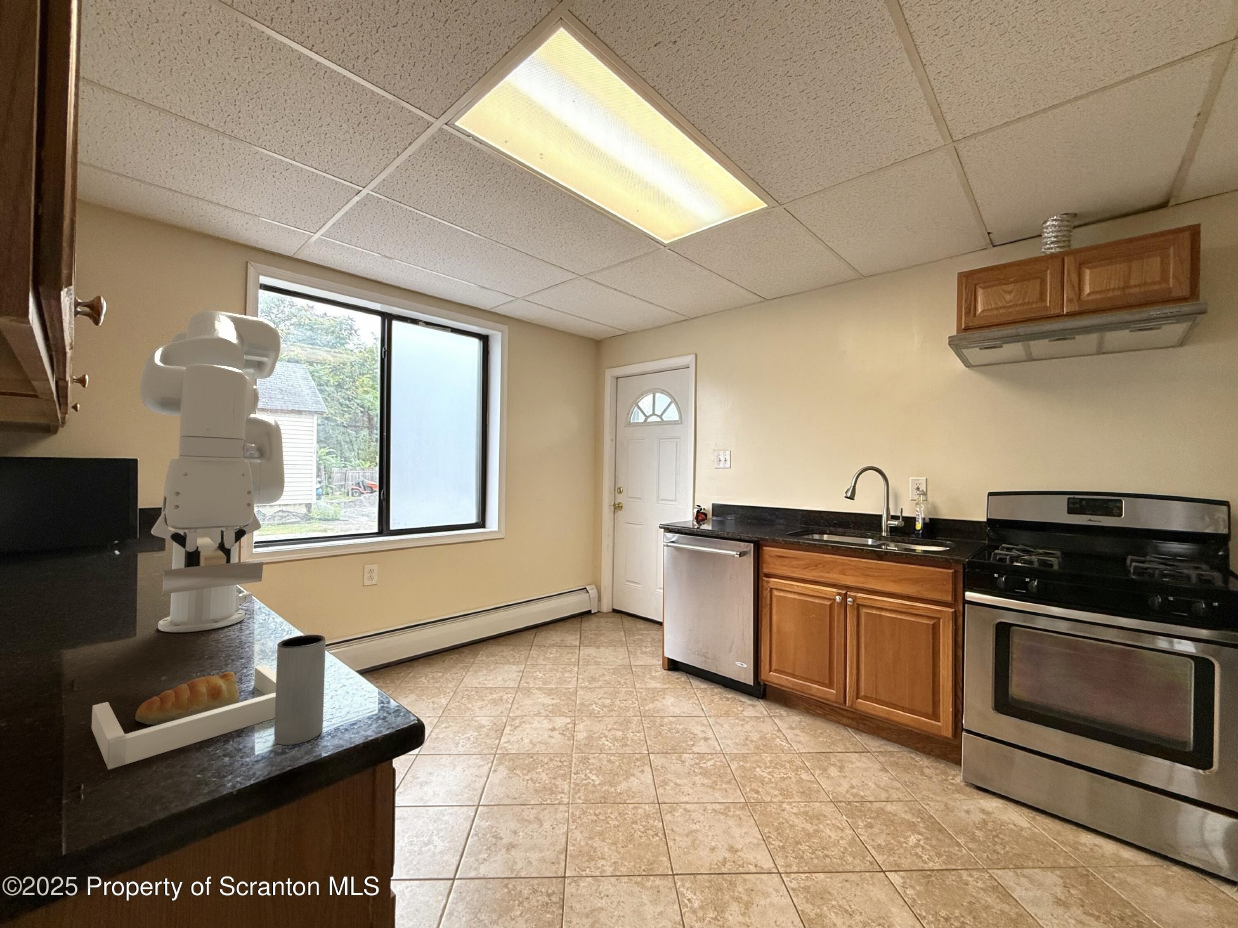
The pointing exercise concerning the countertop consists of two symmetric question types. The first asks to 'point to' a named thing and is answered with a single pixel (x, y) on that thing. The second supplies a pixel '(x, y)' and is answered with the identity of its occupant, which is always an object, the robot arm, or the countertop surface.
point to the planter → (299, 689)
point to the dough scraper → (211, 571)
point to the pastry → (190, 699)
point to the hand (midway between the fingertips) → (207, 574)
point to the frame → (181, 725)
